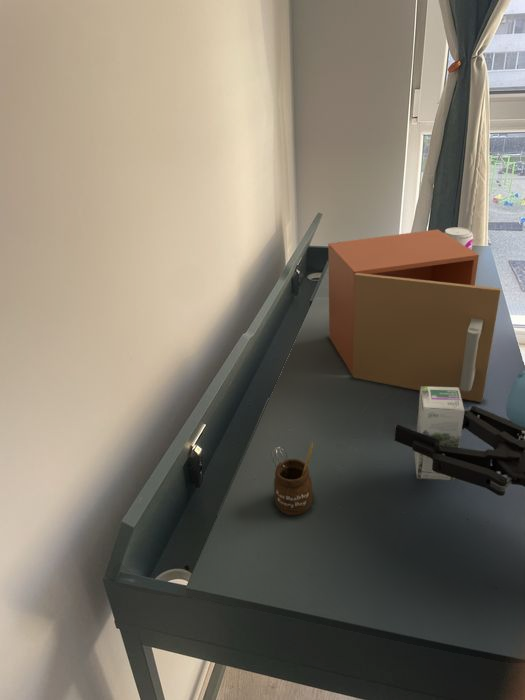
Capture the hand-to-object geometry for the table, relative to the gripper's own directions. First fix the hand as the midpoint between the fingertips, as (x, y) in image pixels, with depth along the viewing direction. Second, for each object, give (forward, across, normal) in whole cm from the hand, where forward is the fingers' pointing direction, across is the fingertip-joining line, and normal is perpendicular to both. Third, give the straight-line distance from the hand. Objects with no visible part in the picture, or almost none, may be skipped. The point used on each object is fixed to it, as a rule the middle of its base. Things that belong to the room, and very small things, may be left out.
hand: (408, 419), depth 84 cm
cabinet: (+21, +35, -10) cm, 42 cm away
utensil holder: (+10, -17, -10) cm, 22 cm away
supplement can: (+25, +78, -11) cm, 83 cm away
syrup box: (-5, 0, -8) cm, 10 cm away
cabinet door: (+8, +19, -10) cm, 23 cm away
